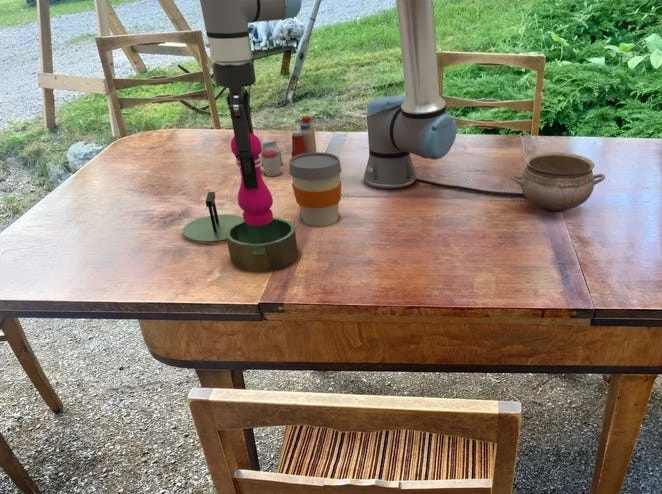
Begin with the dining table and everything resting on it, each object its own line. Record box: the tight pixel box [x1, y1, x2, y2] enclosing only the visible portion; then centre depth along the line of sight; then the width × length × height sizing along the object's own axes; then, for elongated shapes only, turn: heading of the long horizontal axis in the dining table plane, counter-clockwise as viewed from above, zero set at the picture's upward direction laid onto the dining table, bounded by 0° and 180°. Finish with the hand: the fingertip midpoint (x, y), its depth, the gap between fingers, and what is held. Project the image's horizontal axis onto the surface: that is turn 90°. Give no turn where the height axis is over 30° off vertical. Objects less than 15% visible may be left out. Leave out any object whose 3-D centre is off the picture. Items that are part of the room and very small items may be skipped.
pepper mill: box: [230, 133, 274, 226], centre depth 125 cm, size 7×7×20 cm
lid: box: [182, 191, 244, 244], centre depth 145 cm, size 16×16×9 cm
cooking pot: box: [509, 151, 606, 214], centre depth 158 cm, size 25×19×12 cm
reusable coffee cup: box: [288, 151, 342, 227], centre depth 150 cm, size 13×13×15 cm
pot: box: [226, 217, 299, 273], centre depth 135 cm, size 15×20×6 cm
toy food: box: [259, 115, 317, 177], centre depth 183 cm, size 27×13×12 cm, turn 135°
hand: (252, 183), depth 126 cm, fingers closed on pepper mill, 5 cm apart
